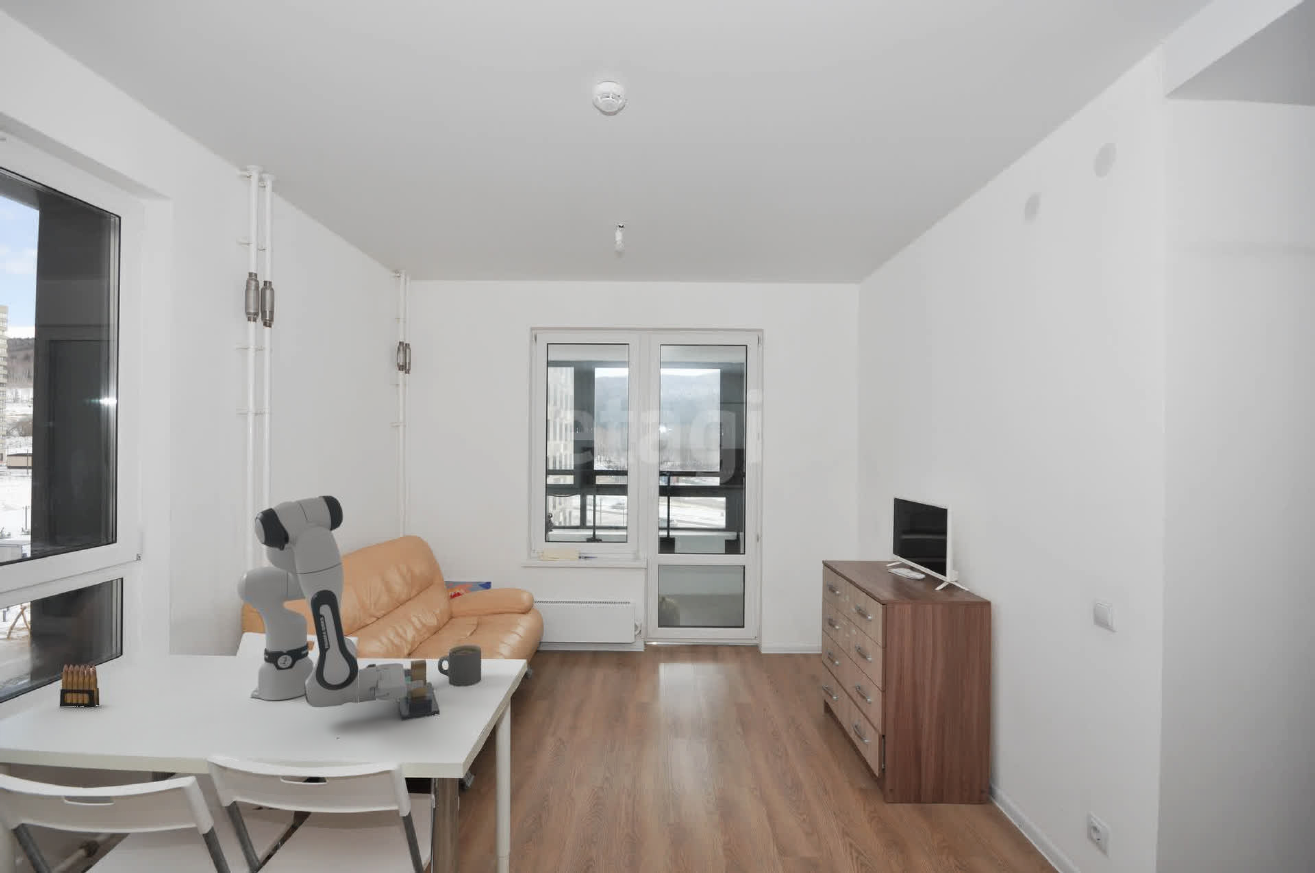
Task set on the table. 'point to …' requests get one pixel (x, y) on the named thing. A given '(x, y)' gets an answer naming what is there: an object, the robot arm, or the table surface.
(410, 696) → the block
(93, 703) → the ammunition clip
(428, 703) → the vise
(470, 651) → the coffee mug
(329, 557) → the robot arm
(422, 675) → the oak block
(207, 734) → the table surface
